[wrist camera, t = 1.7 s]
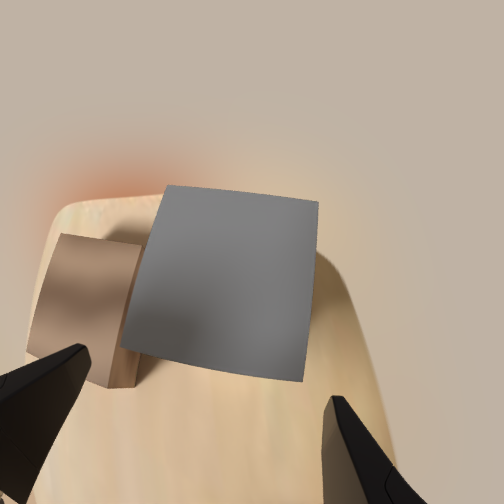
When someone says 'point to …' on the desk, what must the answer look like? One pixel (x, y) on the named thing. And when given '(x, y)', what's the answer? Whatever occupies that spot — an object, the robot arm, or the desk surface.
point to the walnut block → (89, 306)
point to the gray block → (227, 283)
